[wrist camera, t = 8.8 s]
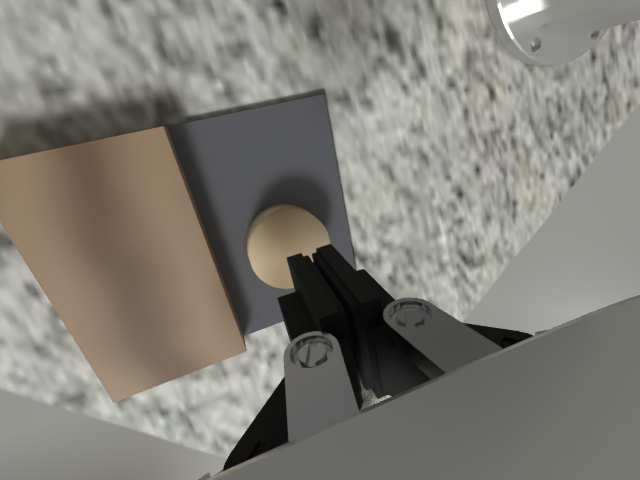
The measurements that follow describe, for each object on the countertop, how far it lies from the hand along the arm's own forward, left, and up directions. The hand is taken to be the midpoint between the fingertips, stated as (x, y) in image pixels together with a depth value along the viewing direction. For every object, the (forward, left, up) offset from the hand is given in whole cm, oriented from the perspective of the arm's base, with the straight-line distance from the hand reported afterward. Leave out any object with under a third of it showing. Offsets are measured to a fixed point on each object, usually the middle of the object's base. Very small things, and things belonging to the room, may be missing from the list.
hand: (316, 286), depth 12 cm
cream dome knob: (-1, +2, -10) cm, 10 cm away
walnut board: (+8, 0, -10) cm, 13 cm away
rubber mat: (-1, 0, -10) cm, 10 cm away
